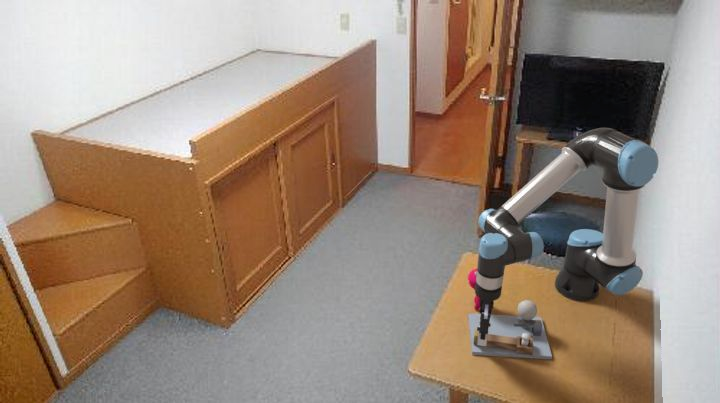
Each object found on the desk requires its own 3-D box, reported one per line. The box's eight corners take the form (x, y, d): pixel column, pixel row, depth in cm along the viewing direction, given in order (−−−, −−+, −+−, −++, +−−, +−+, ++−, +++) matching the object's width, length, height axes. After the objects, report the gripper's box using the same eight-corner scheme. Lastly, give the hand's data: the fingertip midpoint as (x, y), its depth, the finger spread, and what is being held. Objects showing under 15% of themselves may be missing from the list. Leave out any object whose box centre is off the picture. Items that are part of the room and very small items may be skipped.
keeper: (538, 333, 177) (541, 320, 174) (540, 338, 175) (542, 325, 172) (511, 332, 178) (513, 319, 175) (512, 337, 176) (514, 324, 173)
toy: (491, 314, 186) (496, 279, 178) (467, 314, 186) (470, 279, 179) (487, 298, 193) (491, 264, 186) (463, 299, 193) (466, 264, 186)
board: (540, 319, 183) (543, 304, 180) (551, 359, 167) (554, 343, 164) (468, 316, 185) (469, 300, 182) (472, 354, 170) (473, 338, 166)
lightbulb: (534, 336, 175) (538, 309, 170) (514, 333, 177) (518, 306, 172) (534, 324, 181) (538, 297, 176) (515, 321, 182) (518, 295, 177)
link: (531, 344, 171) (533, 335, 169) (532, 355, 167) (533, 346, 165) (474, 335, 175) (475, 327, 173) (473, 346, 171) (474, 337, 169)
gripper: (477, 268, 165) (470, 328, 176) (474, 295, 154) (468, 357, 165) (502, 271, 163) (494, 332, 175) (501, 298, 152) (493, 361, 164)
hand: (481, 344), depth 170 cm, fingers closed
